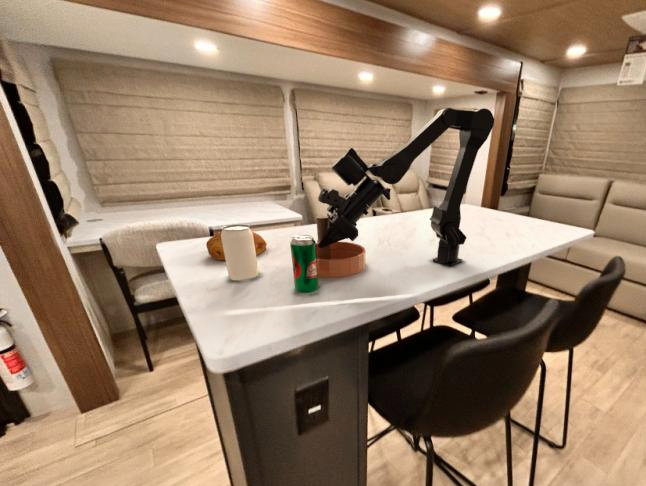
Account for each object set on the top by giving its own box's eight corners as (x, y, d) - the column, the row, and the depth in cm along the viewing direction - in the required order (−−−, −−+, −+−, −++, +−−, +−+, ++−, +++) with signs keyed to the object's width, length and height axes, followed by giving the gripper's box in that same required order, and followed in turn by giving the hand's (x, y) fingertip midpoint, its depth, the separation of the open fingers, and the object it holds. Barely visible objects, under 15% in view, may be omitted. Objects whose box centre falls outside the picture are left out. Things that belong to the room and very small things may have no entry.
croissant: (200, 265, 85) (190, 238, 81) (238, 243, 98) (230, 219, 94) (246, 270, 82) (237, 242, 78) (278, 246, 95) (272, 221, 91)
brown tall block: (333, 264, 82) (331, 215, 77) (334, 268, 80) (332, 218, 74) (316, 265, 81) (313, 215, 76) (317, 269, 78) (313, 218, 73)
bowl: (338, 254, 92) (338, 238, 90) (377, 268, 82) (378, 250, 80) (289, 267, 80) (287, 249, 78) (328, 285, 71) (327, 265, 69)
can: (265, 274, 76) (257, 225, 71) (244, 283, 70) (235, 231, 65) (244, 270, 78) (235, 222, 73) (222, 279, 72) (212, 228, 67)
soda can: (312, 296, 65) (308, 241, 61) (290, 293, 66) (284, 239, 61) (322, 287, 70) (319, 235, 65) (302, 284, 71) (297, 233, 66)
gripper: (333, 172, 81) (293, 215, 82) (341, 178, 64) (291, 232, 66) (363, 202, 86) (325, 242, 87) (378, 216, 69) (331, 265, 71)
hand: (318, 244), depth 78 cm, fingers closed on brown tall block, 3 cm apart
